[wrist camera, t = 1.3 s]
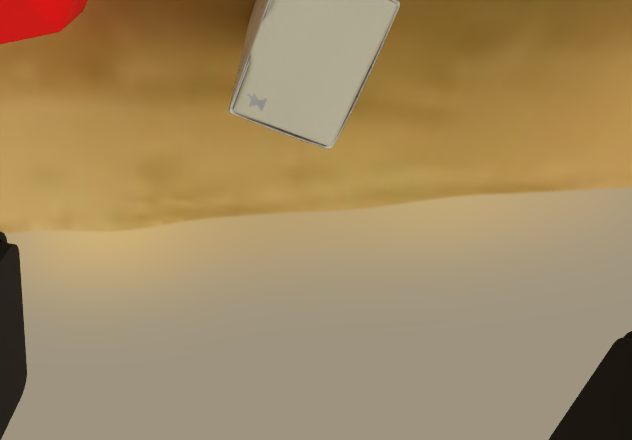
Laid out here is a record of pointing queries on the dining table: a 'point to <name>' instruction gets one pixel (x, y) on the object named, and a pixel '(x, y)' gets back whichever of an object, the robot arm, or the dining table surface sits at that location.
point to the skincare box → (309, 64)
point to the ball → (36, 17)
